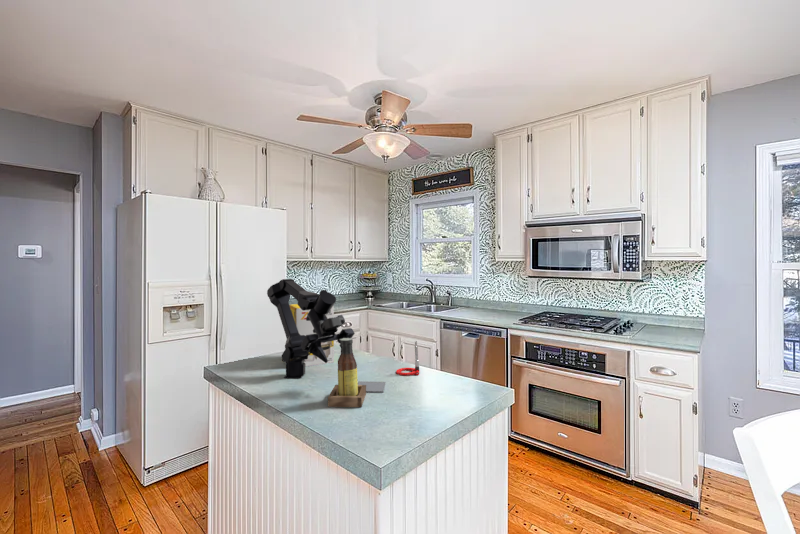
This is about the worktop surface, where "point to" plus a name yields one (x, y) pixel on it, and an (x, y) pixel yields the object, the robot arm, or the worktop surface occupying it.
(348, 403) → the holder frame
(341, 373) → the sauce bottle
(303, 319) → the packaging box
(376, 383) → the slate tile
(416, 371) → the tow hook
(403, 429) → the worktop surface
